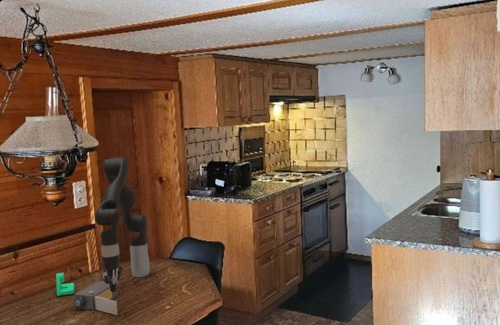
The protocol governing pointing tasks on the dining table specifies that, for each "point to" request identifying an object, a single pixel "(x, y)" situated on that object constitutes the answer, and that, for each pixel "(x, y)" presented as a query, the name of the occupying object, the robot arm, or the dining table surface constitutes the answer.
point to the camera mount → (63, 285)
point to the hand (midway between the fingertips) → (113, 291)
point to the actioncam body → (87, 295)
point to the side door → (105, 305)
